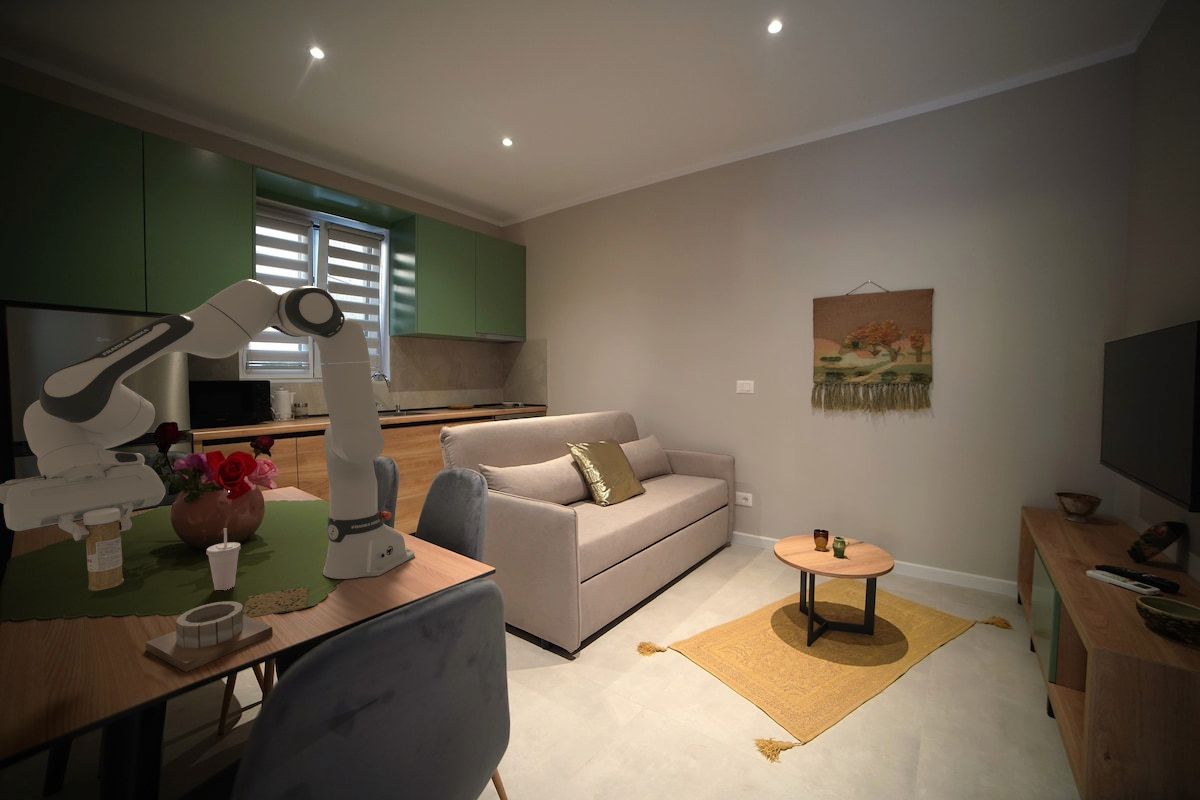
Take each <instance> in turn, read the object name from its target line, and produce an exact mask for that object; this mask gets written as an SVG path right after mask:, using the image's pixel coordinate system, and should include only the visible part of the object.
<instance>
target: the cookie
mask: <svg viewBox="0 0 1200 800" xmlns="http://www.w3.org/2000/svg"><path fill="white" fill-rule="evenodd" d="M309 591H310V587H309V586H303V587H300V586H299V587H295V588H290V589H284V590H283V589H282V590H278V591H273V592H267V593H257V594H252V595H248V596H247V597H246V601H245V603H244V606H243V615H245V616H247V617H250V618H252V619H254V618H258V617H259V618H260V617H264V616H269V615H273V614H274V615H275V614H279V613H278V612H279V611H278V610H283V611H284V609H287V610H288V609H290V610H292V611H297V610H296V609H298V610H304V609H307V607H308V604H309V603H308V600H309ZM303 608H304V609H303Z"/></svg>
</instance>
